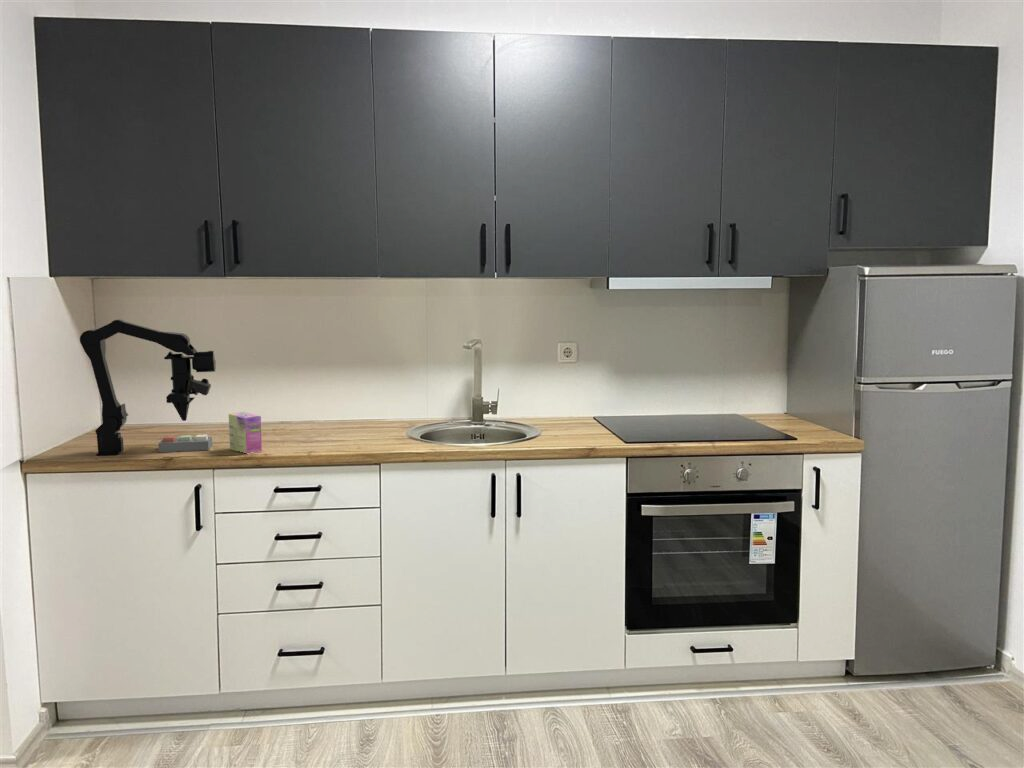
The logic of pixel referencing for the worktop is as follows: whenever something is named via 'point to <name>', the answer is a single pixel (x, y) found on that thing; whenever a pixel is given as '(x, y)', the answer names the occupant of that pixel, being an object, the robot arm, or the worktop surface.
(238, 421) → the box
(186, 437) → the green button
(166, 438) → the red button
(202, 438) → the cream button
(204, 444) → the button panel
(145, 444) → the worktop surface
